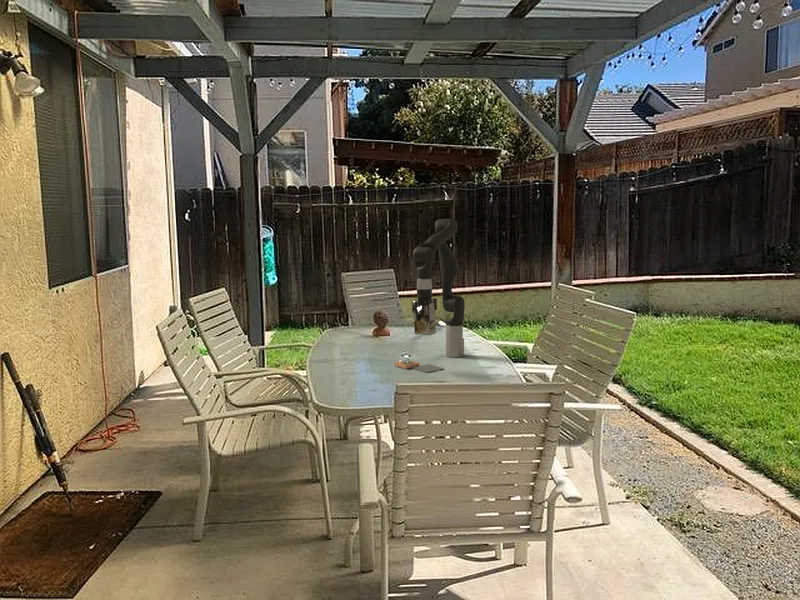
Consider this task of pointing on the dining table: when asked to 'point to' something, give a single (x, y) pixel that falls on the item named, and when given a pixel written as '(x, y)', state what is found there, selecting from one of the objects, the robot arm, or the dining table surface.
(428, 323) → the coffee box
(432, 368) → the rubber mat
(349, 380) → the dining table surface
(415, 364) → the marble dish
